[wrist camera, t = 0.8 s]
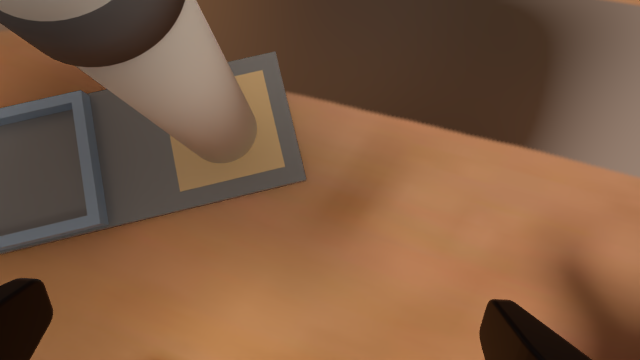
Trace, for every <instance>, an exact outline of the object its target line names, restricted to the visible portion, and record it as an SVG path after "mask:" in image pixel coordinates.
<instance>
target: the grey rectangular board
mask: <svg viewBox="0 0 640 360" xmlns="http://www.w3.org/2000/svg"><path fill="white" fill-rule="evenodd" d="M227 63H228V64H229V66H230V68H231V70H232V72H233V74H234V76H235V78H236V80H237V82H238V84H239V86H240V88H241V90H242V92H243V94H244V96H245V98H246V100H247V102H248V104H249V106H250V108H251V110H252V112H253V114H254V116H255V119H256V123H257V134H256V138H255V141H254V143H253V145H252V147H251V148H250V149H249V151H248V152H247V153H246V154H245V155H243V156H242V157H241V158H239V159H237V160H235V161H232V162H229V163H213V162H209V161H207V160H204V159H203V158H201V157H200V156H198V155H197V154H196V153H194V152H193V151H191V150H190V149H189V148H187V147H186V146H185V145H183V144H182V143H180V142H179V141H178V140H176V139H175V138H174V137H172V136H171V135H169V134H168V133H167V132H165V131H164V130H163V129H161V128H160V127H159V126H157V125H156V124H154V123H153V122H152V121H150V120H149V119H148V118H146V117H145V116H143V115H142V114H141V113H139V112H138V111H137V110H135V109H134V108H132V107H131V106H130V105H128V104H127V103H126V102H124V101H123V100H121V99H120V98H119V97H117V96H116V95H115V94H113V93H112V92H110V91H109V90H108V89H106V90H102V91H98V92H93V93H89V94H86V93H84V92H83V91H81V90H79V91H75V92H71V93H66V94H62V95H57V96H53V97H48V98H44V99H39V100H35V101H31V102H26V103H22V104H17V105H13V106H8V107H4V108H0V254H4V253H8V252H12V251H17V250H21V249H25V248H29V247H33V246H37V245H41V244H46V243H50V242H54V241H58V240H62V239H66V238H70V237H75V236H79V235H83V234H87V233H91V232H95V231H99V230H104V229H108V228H112V227H116V226H120V225H124V224H128V223H132V222H137V221H141V220H145V219H149V218H153V217H157V216H161V215H166V214H170V213H174V212H178V211H182V210H186V209H190V208H195V207H199V206H203V205H207V204H211V203H215V202H219V201H224V200H228V199H232V198H236V197H240V196H244V195H248V194H253V193H257V192H261V191H265V190H269V189H273V188H277V187H282V186H286V185H290V184H294V183H298V182H302V181H306V176H305V172H304V167H303V163H302V159H301V155H300V151H299V147H298V143H297V139H296V135H295V130H294V126H293V122H292V118H291V114H290V110H289V106H288V102H287V98H286V93H285V89H284V85H283V82H282V77H281V73H280V69H279V65H278V61H277V56H276V52H271V53H266V54H262V55H258V56H253V57H248V58H244V59H239V60H235V61H231V62H227Z"/></svg>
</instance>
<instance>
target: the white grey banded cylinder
mask: <svg viewBox="0 0 640 360" xmlns="http://www.w3.org/2000/svg"><path fill="white" fill-rule="evenodd" d="M0 23H1V24H2V25H4V26H5V27H7V28H8V29H10V30H11V31H12V32H14V33H15V34H17V35H18V36H20V37H21V38H23V39H24V40H26V41H27V42H28V43H30V44H31V45H33V46H34V47H36V48H37V49H39V50H40V51H41V52H43V53H44V54H46V55H48V56H50V57H51V58H53V59H55V60H58V61H60V62H63V63H66V64H70V65H74V66H76V67H77V68H79V69H80V70H82V71H83V72H84V73H86V74H87V75H88V76H90V77H91V78H93V79H94V80H95V81H97V82H98V83H99V84H101V85H102V86H104V87H105V88H106V89H108V90H109V91H110V92H112V93H113V94H115V95H116V96H117V97H119V98H120V99H121V100H123V101H124V102H126V103H127V104H128V105H130V106H131V107H132V108H134V109H135V110H137V111H138V112H139V113H141V114H142V115H143V116H145V117H146V118H148V119H149V120H150V121H152V122H153V123H154V124H156V125H157V126H159V127H160V128H161V129H163V130H164V131H165V132H167V133H168V134H169V135H171V136H172V137H174V138H175V139H176V140H178V141H179V142H180V143H182V144H183V145H185V146H186V147H187V148H189V149H190V150H191V151H193V152H194V153H196V154H197V155H198V156H200V157H201V158H203V159H204V160H207V161H209V162H213V163H229V162H232V161H235V160H237V159H239V158H241V157H242V156H243V155H245V154H246V153H247V152H248V151H249V149H250V148H251V147H252V145H253V143H254V141H255V138H256V134H257V123H256V119H255V116H254V114H253V112H252V110H251V108H250V106H249V104H248V102H247V100H246V98H245V96H244V94H243V92H242V90H241V88H240V86H239V84H238V82H237V80H236V78H235V76H234V74H233V72H232V70H231V68H230V66H229V64H228V63H227V61H226V59H225V57H224V55H223V53H222V51H221V49H220V47H219V45H218V43H217V41H216V39H215V37H214V35H213V33H212V31H211V30H210V27H209V25H208V23H207V21H206V19H205V17H204V15H203V13H202V12H201V9H200V7H199V5H198V3H197V1H196V0H0Z"/></svg>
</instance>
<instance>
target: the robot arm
mask: <svg viewBox="0 0 640 360" xmlns="http://www.w3.org/2000/svg"><path fill="white" fill-rule="evenodd" d="M52 316H53V308H52V305H51V302H50V300H49V297H48V294H47V291H46V288H45V285H44V283H43V282H42V281H41V280H38V279H28V278H19V279H15V280H12V281H10V282H8V283H5V284H3V285H1V286H0V360H30V358H31V356H32V355H33V353H34V351H35V349H36V348H37V346H38V344H39V342H40V340H41V339H42V337H43V335H44V333H45V331H46V330H47V328H48V326H49V324H50V322H51V320H52ZM479 334H480V342H481V346H482V350H483V353H484V357H485V360H592V359H590V358H589V357H588V356H586V355H585V354H584V353H582V352H581V351H580V350H578V349H577V348H576V347H574V346H573V345H571V344H570V343H569V342H567V341H566V340H565V339H563V338H562V337H561V336H559V335H558V334H557V333H555V332H554V331H553V330H551V329H550V328H549V327H547V326H546V325H545V324H543V323H542V322H540V321H539V320H538V319H536V318H535V317H534V316H532V315H531V314H530V313H528V312H527V311H526V310H524V309H523V308H522V307H520V306H519V305H518V304H516V303H515V302H513V301H511V300H500V299H492V300H490V301H489V302H488V304H487V307H486V310H485V313H484V317H483V320H482V323H481V327H480V333H479Z"/></svg>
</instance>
